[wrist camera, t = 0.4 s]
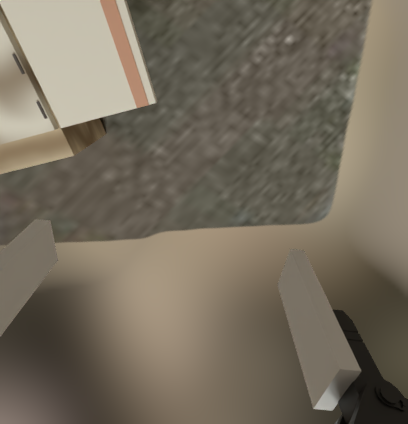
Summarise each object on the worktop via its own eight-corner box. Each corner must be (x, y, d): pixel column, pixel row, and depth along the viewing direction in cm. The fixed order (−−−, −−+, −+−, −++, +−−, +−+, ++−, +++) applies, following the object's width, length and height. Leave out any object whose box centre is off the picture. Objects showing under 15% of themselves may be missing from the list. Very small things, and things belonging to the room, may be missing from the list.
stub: (-6, -21, 22) (-15, -24, 21) (107, -63, 20) (102, -68, 20) (64, 126, 27) (60, 128, 27) (157, 101, 26) (155, 102, 25)
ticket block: (-39, -1, 31) (-153, -30, 21) (38, -30, 29) (-46, -74, 20) (43, 150, 39) (-12, 178, 30) (106, 133, 38) (70, 158, 28)
